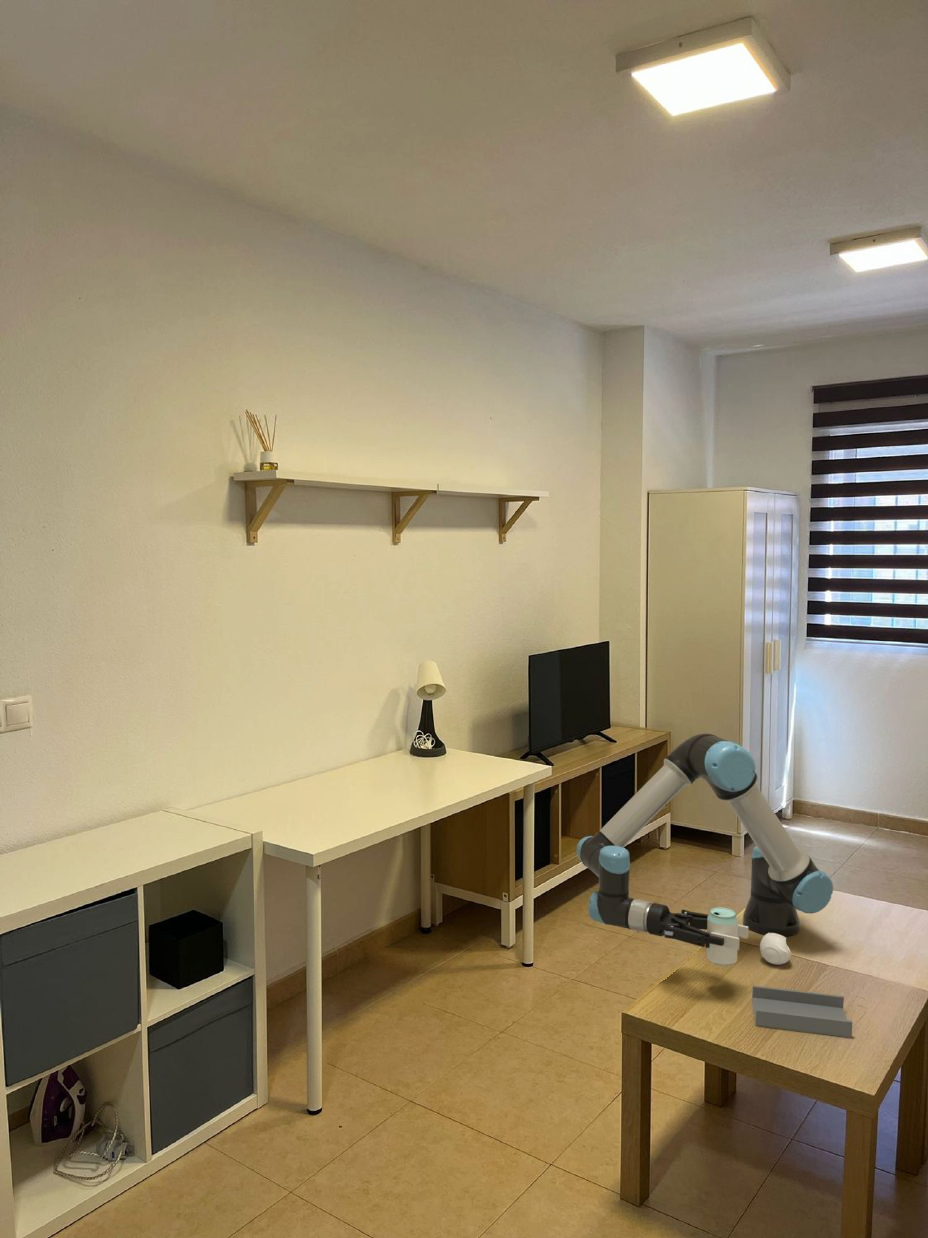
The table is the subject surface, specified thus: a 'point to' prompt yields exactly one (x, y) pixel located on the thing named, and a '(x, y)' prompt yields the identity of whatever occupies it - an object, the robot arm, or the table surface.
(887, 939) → the table surface
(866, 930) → the table surface
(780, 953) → the cream rounded lump
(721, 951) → the can
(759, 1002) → the duct channel
